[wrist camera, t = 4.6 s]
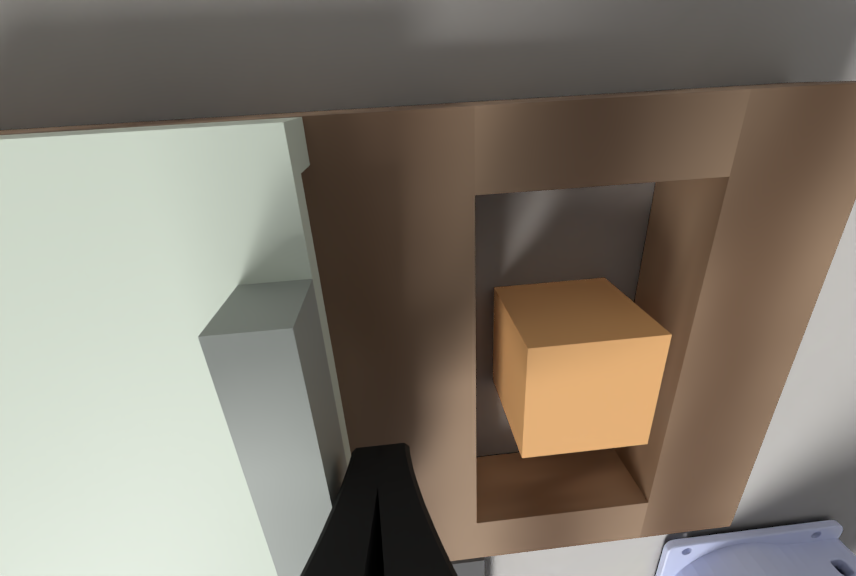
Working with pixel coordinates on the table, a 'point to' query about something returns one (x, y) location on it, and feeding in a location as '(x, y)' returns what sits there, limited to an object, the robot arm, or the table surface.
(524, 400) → the block
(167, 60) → the table surface
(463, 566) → the mat
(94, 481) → the sliding lid
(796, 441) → the table surface
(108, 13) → the table surface
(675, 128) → the puzzle board
